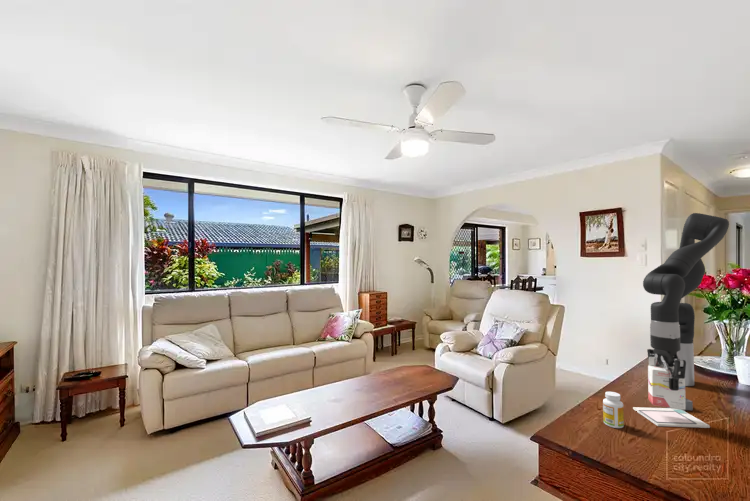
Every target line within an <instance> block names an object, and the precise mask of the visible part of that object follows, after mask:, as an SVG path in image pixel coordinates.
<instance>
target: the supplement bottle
mask: <svg viewBox="0 0 750 501" xmlns="http://www.w3.org/2000/svg"><path fill="white" fill-rule="evenodd" d="M604 397H605V398H603V400H602V416H603V419H602V420H603V424H605V425H606V426H608V427H610V428H615V429H622V428H624V427H625V426H624V425H625V421H624V420H625V417H624V416H625V414H624V412H625V411H624V403H623V402H622V401H621V394H620V393H618V392H615V391H605V393H604Z"/></svg>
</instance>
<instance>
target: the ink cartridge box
mask: <svg viewBox="0 0 750 501" xmlns="http://www.w3.org/2000/svg"><path fill="white" fill-rule="evenodd" d="M654 359H655V357H649V360H648V365H647V380H648V381H647V382H648V383H647V384H648V385H647V386H648V389H647V390H648V391H647V392H648V394H647V395H648V401H649V402H650V403H651V405H653V406H656V407H657V406H658V407H662V408H667V407H670V408H677V409H684V410H683V411H686V410H685V409H686V403H685V398H686V386H685V378H684V379H679V389H678V390H677V391H675V390H671V389H670V388H669V378H670V377H669V374H668V371H666V370H665V367H664V366H663V365H661V366H658V367H656V366H655V365H654ZM658 364H659V362H658ZM670 368H674V366H673V367H670ZM672 373H673V374H674V371H672ZM679 374H680V372H679Z"/></svg>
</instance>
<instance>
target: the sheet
mask: <svg viewBox="0 0 750 501" xmlns="http://www.w3.org/2000/svg"><path fill="white" fill-rule="evenodd" d="M632 409H633V410H634V411H635V412H636V411H637V412H636V413H638V414H639V415H641V416H643V417H644V418H646V419H647V420H648V421H649V422H651V423H653V424H654V425H655V426H657V427H675V428H676V427H677V428H678V427H679V428H698V429H699V428H702V429H703V428H704V429H710V428H711V426H710V424H708V423H706V422H704V421H702V420H701V419H699V418H698V417H695V416H693V415H692V414H690V413H688V412H686V410H681V409H677V408H667V407H643V406H642V407H638V406H637V407H635V406H633V407H632Z"/></svg>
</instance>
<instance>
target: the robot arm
mask: <svg viewBox="0 0 750 501" xmlns="http://www.w3.org/2000/svg"><path fill="white" fill-rule="evenodd" d="M729 225H730V221H729V220H728V219H726V218H724V217H720V216H715V215H710V214H705V213H700V212H699V213H698V212H693V213H691V214H689V215H688V217H687V218H686V220H685V222H684V225H683V228H682V232H681V238H680V243H679V248H678V249H675V251H673V252H672V253H670V255H669V256H668V257H667V258H666V260H665V261H664V262H663V263H662V264H661V265H659V266H657V267H656V268H654V269H653V270H651V271H650V272H648V273H647V274H646V275H645V277H644V278H643V281H642V287H643V289H644V291H645V292H646V293H649V294H652V295H660V296H663V297H662V299H661V301H654V302H652V303H651V304H650V326H649V336H650V347H651V348H648V349H647V359H648V361H649V357H655V359H654V365H655V366H656V367H658V366H661V365H663V366H664V367H665V370H666V371H668V374H669V377H670V378H669V388H670V389H671V390H675V391H677V390H678V389H679V379H684V378H685V387H694V386H695V362H694V361H695V354H694V337H695V309H694V307H693V306H692V305H691V303H687V302H681V301H682V299H683V298H685V297H686V296H687V295H689V294H691V293H692V292H693V291H695V290H696V289H697V288H699V286H701V284H702V281H703V278H704V276H705V273H706V266H705V264H704V261H703V259H702V258H703V257H704V256H705V255H706V254H708V253H709V252H710V251H711V250H713V248H715V247H716V246H717V245H718V244H719V243H720V242H721V241H722V240H723V239H724V238H725V236H726V235H727V232H728V230H729ZM695 240H697V242H696V241H695ZM658 362H659V364H658ZM673 366H674V368H670V367H673ZM672 371H674V374H673V373H672ZM679 372H680V374H679Z"/></svg>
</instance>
